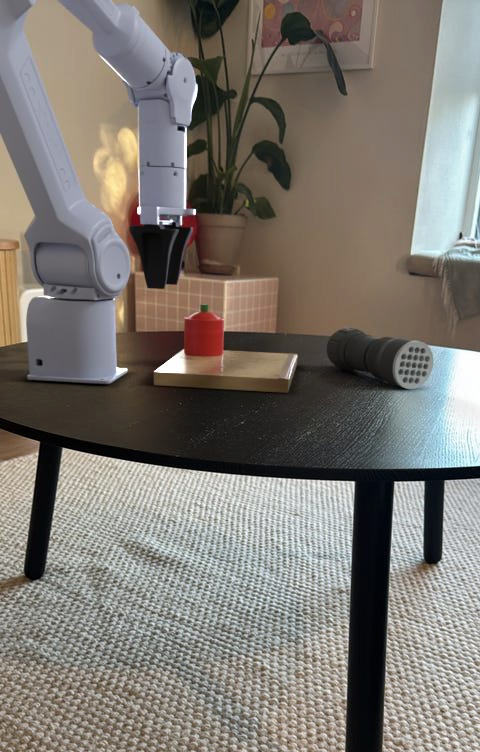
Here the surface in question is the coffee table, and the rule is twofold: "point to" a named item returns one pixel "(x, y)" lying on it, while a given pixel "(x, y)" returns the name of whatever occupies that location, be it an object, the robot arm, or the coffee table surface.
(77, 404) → the coffee table surface
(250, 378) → the board
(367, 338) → the flashlight
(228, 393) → the coffee table surface
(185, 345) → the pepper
